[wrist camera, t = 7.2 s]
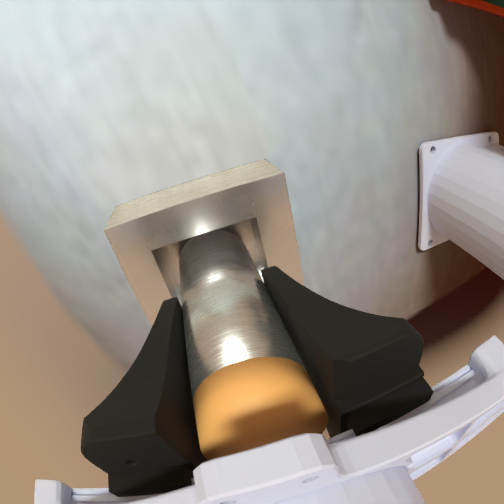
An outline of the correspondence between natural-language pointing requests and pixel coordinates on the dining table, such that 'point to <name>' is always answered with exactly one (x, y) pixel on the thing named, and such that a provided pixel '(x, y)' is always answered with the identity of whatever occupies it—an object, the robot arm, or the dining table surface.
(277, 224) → the block
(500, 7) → the power tool
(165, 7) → the dining table surface
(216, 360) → the orange capped bottle
